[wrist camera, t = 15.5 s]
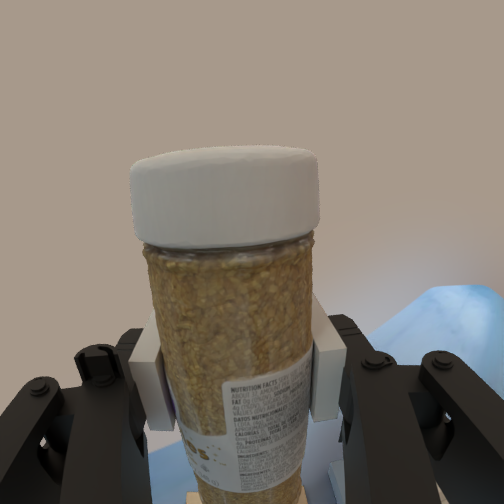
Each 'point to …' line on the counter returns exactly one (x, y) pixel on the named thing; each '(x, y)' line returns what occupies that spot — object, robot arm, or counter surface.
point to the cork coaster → (194, 500)
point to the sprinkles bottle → (234, 308)
